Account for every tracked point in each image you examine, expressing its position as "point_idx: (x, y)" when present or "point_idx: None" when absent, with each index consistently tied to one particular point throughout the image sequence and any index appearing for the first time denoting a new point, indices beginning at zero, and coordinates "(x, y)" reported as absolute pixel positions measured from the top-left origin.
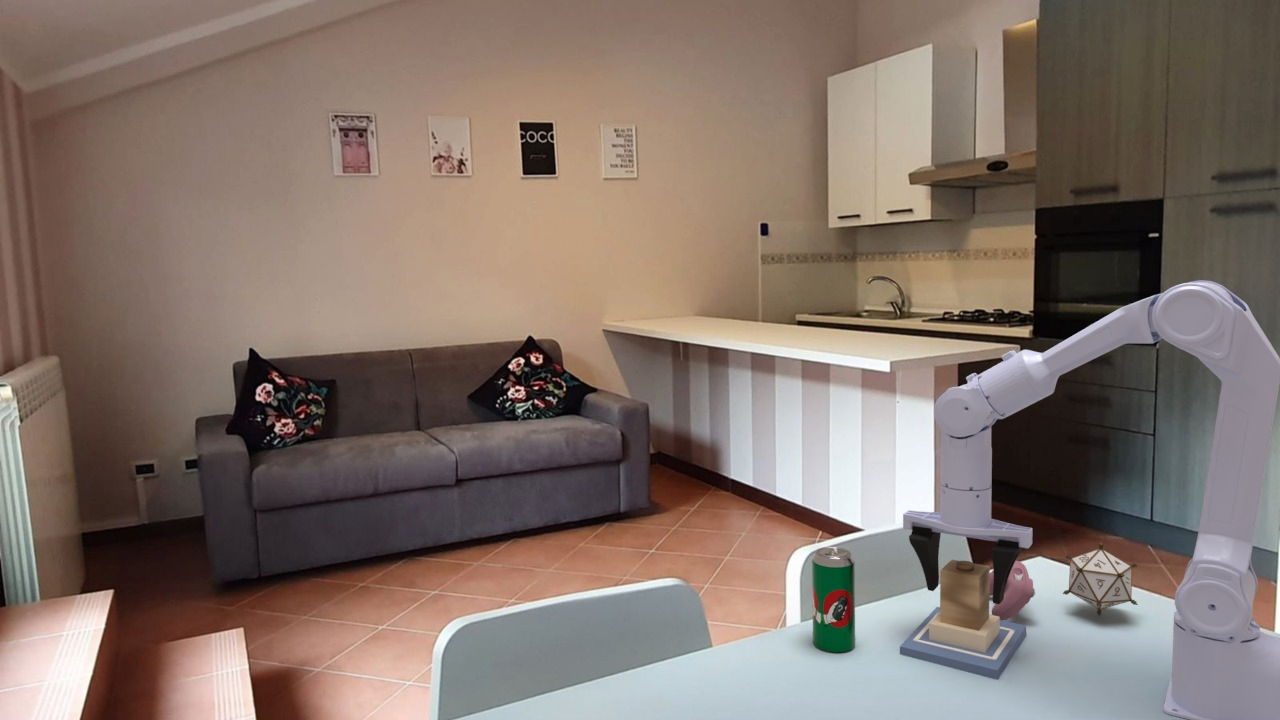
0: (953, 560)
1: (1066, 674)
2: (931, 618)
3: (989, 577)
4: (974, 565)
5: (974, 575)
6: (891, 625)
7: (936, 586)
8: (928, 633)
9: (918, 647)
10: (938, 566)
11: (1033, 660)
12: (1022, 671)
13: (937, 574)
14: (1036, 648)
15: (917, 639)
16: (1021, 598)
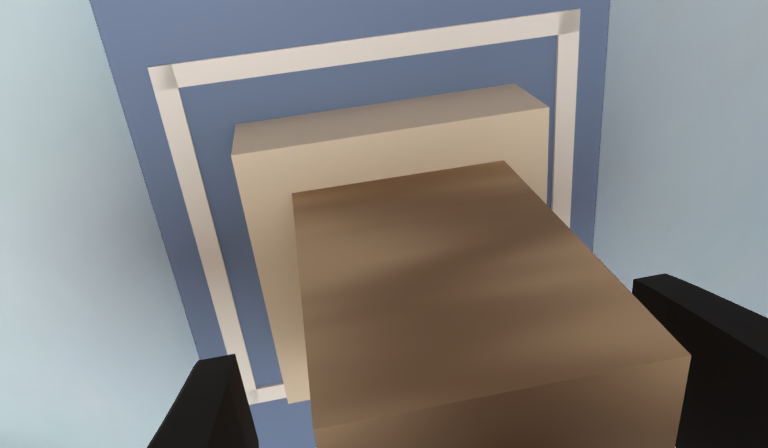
0: (338, 437)
1: (761, 183)
2: (163, 150)
3: (629, 294)
4: (561, 425)
5: None
6: (8, 236)
7: (241, 388)
8: (253, 309)
9: (292, 431)
10: (209, 444)
11: (650, 152)
12: (625, 261)
13: (227, 427)
14: (650, 27)
15: (254, 391)
16: None
